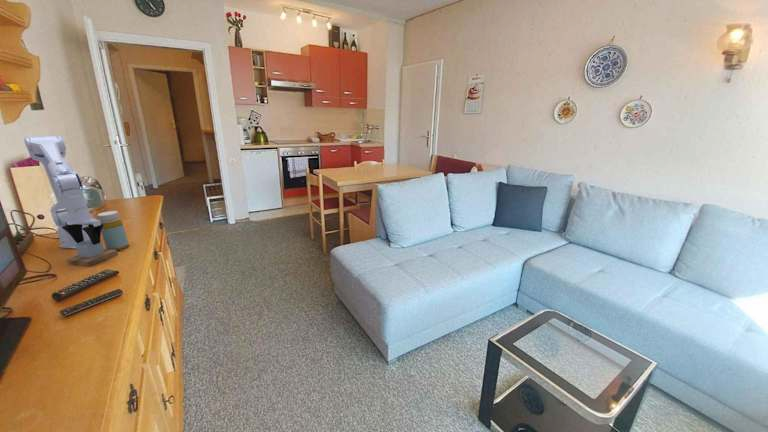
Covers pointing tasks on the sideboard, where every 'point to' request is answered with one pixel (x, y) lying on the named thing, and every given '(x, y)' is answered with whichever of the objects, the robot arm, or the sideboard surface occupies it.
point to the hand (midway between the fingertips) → (88, 242)
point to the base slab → (94, 260)
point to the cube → (89, 249)
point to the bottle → (113, 230)
